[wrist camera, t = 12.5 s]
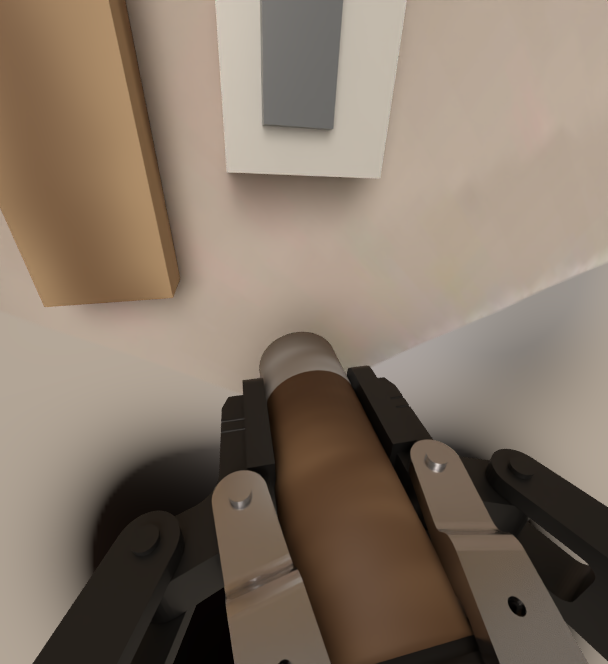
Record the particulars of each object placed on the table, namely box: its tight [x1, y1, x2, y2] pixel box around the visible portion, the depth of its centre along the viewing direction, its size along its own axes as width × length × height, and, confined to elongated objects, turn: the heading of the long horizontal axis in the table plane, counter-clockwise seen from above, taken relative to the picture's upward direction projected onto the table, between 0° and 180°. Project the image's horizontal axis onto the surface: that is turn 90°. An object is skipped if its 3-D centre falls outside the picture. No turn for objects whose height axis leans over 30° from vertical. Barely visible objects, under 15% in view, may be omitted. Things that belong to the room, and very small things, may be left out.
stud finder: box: [215, 0, 407, 179], centre depth 11 cm, size 6×9×4 cm, turn 178°
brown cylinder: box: [259, 332, 474, 664], centre depth 9 cm, size 3×3×9 cm
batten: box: [0, 0, 180, 307], centre depth 10 cm, size 5×16×2 cm, turn 0°
